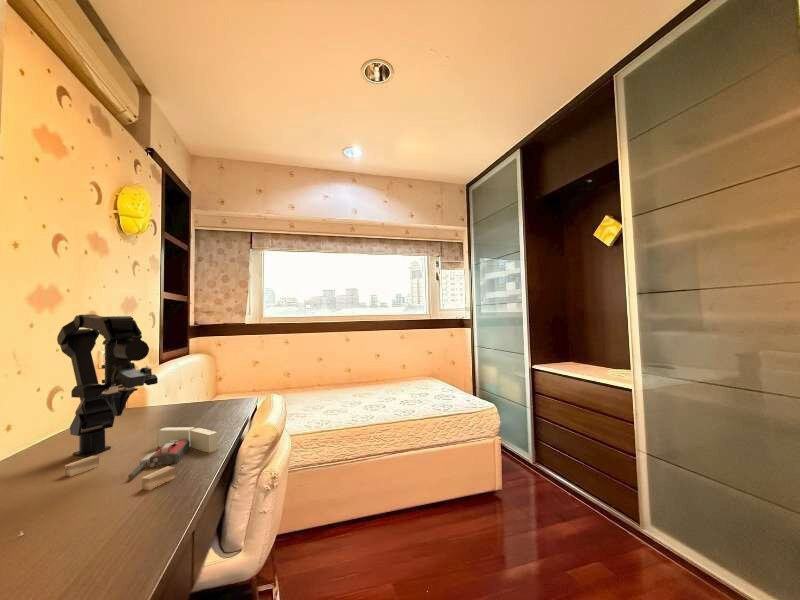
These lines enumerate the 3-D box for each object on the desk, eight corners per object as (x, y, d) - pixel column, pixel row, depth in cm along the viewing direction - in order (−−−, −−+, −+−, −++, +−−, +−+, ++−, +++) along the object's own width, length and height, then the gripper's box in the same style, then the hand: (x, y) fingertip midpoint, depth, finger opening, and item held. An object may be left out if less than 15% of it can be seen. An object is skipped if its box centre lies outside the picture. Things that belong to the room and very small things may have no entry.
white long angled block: (157, 446, 103) (157, 430, 103) (171, 441, 107) (171, 425, 107) (210, 452, 96) (210, 435, 96) (223, 446, 100) (223, 429, 100)
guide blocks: (64, 475, 85) (65, 465, 85) (93, 465, 91) (93, 455, 91) (149, 490, 75) (149, 478, 76) (175, 477, 81) (175, 467, 81)
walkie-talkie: (158, 452, 99) (124, 483, 80) (158, 437, 100) (124, 464, 80) (192, 447, 102) (167, 476, 83) (191, 432, 102) (166, 458, 83)
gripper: (98, 365, 84) (98, 428, 83) (170, 356, 102) (170, 408, 101) (70, 365, 88) (70, 425, 87) (144, 356, 105) (145, 406, 105)
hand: (118, 415), depth 95 cm, fingers closed
